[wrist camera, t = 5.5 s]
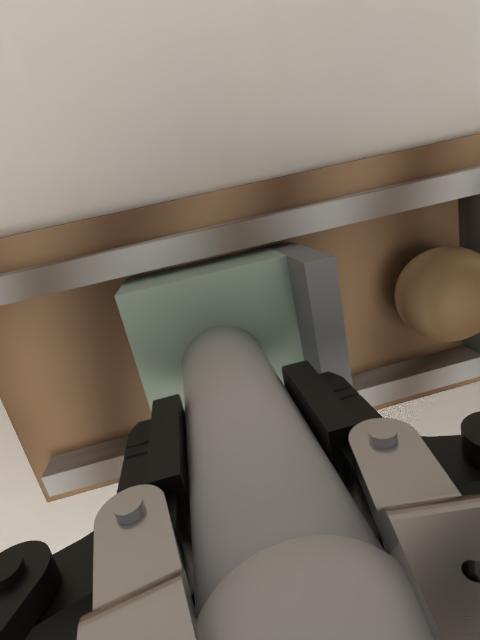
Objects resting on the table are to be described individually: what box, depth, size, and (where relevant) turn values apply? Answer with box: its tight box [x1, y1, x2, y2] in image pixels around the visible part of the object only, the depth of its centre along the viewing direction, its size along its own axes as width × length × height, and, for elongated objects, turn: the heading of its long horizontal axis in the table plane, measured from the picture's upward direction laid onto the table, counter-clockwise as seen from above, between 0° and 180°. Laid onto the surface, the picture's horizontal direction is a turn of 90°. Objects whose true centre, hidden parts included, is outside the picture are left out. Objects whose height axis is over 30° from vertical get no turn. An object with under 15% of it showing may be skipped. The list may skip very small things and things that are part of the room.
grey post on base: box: [115, 241, 434, 640], centre depth 10 cm, size 7×7×15 cm
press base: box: [0, 134, 480, 502], centre depth 16 cm, size 26×12×8 cm, turn 102°
